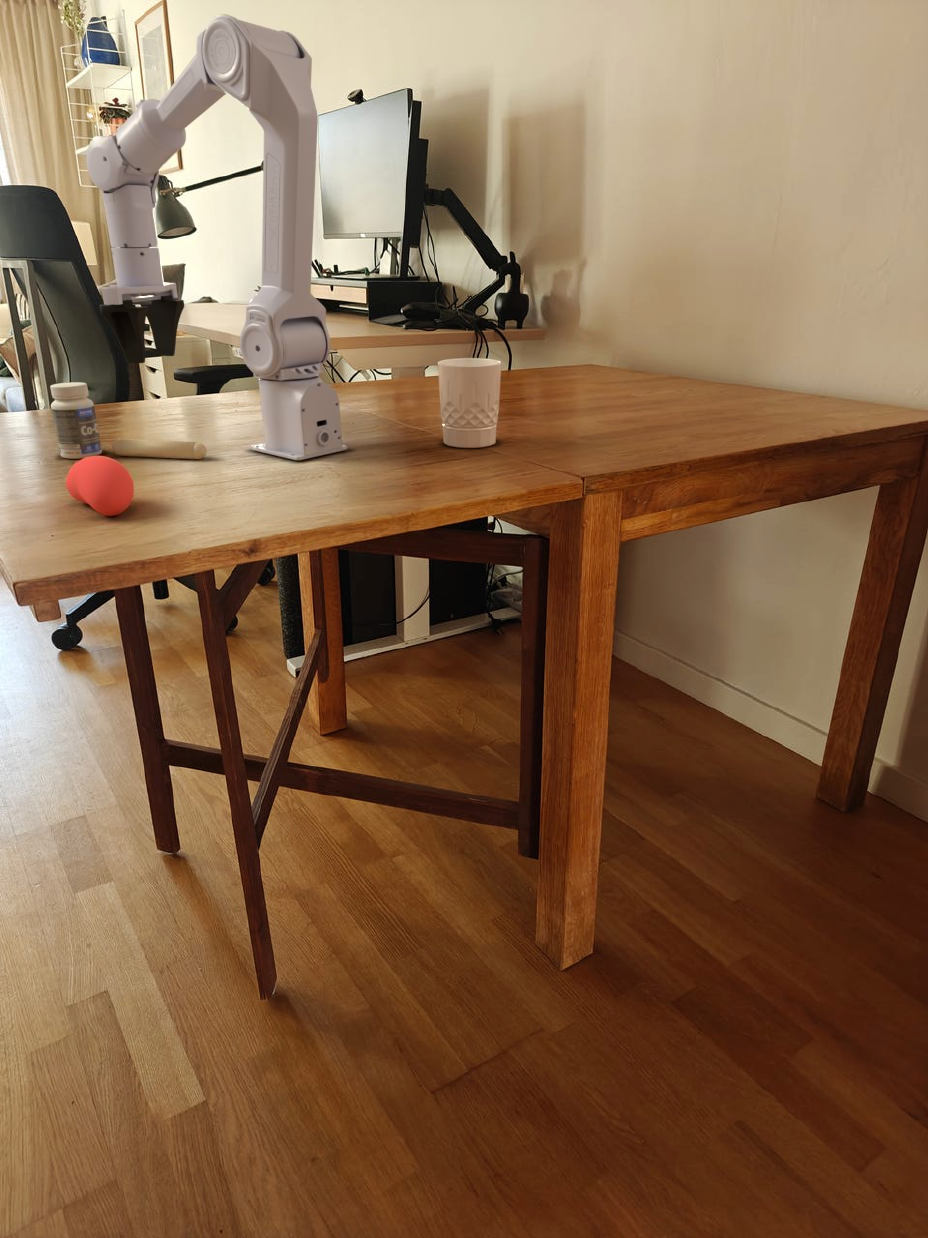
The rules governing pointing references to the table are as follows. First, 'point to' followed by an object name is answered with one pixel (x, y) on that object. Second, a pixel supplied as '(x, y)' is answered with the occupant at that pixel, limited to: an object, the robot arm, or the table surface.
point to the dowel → (159, 449)
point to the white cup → (469, 401)
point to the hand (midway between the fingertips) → (151, 359)
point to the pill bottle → (75, 421)
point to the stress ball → (101, 484)
